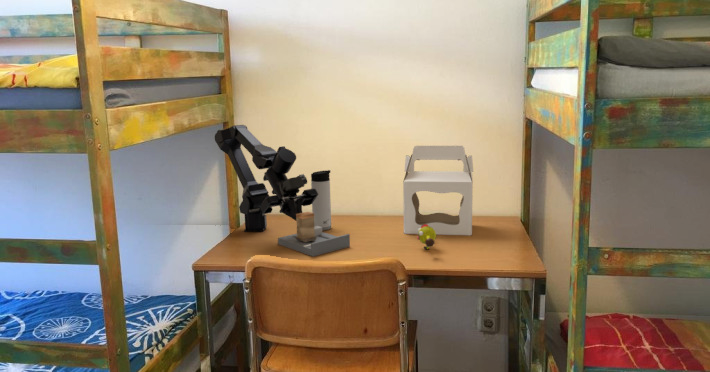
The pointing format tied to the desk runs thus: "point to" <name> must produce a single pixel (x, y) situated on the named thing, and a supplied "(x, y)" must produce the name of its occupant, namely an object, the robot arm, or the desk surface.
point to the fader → (305, 226)
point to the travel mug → (321, 199)
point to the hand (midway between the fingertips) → (301, 222)
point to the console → (316, 243)
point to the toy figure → (426, 236)
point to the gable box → (438, 191)
